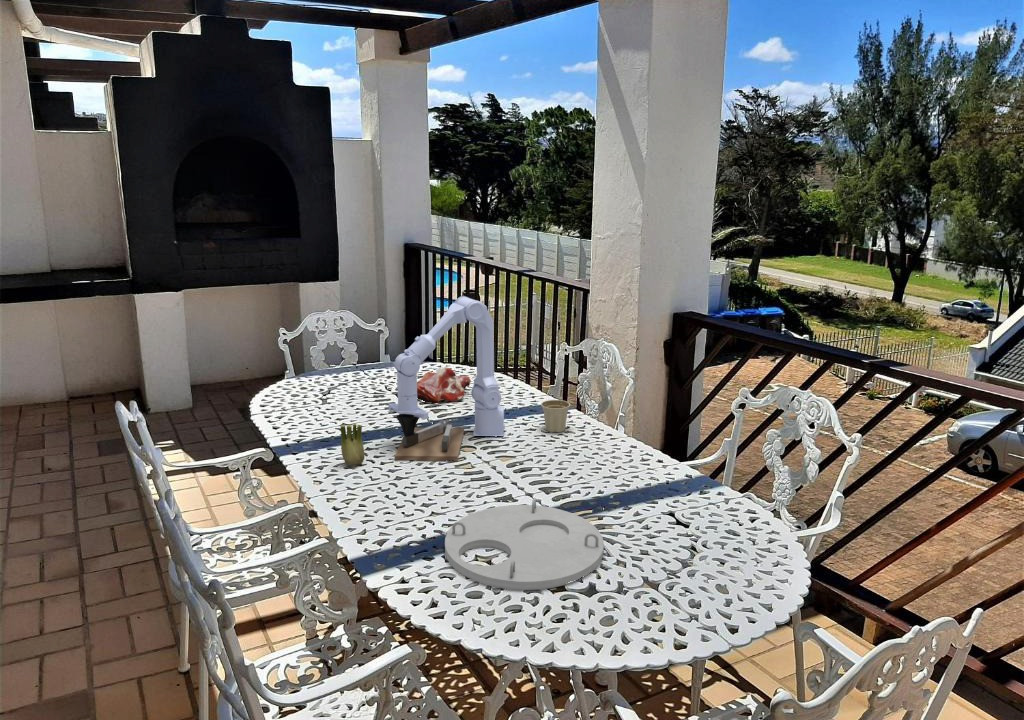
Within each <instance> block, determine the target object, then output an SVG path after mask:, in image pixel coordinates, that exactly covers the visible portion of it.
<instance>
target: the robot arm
mask: <svg viewBox="0 0 1024 720" xmlns="http://www.w3.org/2000/svg"><path fill="white" fill-rule="evenodd" d="M467 322H470V323H471V324H472V325H473V326H475V331H476V332H475V338H476V339H475V340H476V342H475V343H476V344H475V345H476V376H475V378H474V379H473V386H472V388H471V391H470V392H471V393H470V395H471V397H472V399H473V400H474V428H473V432H472V437H474V436H495V438H497V436H503V437H504V434H503V433H504V431H505V429H506V426H505V425H506V423H505V406H503V405H500V404H501V402H502V394H501V392H500V390H499V388H500V387H499V384H498V383H499V382H498V381H497V379H496V378H495V347H494V346H495V342H494V341H495V340H494V339H495V338H494V336H495V335H494V333H495V332H494V331H495V330H494V328H495V326H494V319H493V318H492V315H491V314H490V312H489V311H488V307H487V305H485V304H484V303H483V302H482V301H479V300H476V299H473V298H470V297H468V296H464V295H463V296H459V297H458V298H456V299H455V301H454V302H453V303H452V304H450V306H449V307H448V309H447V311H446V312H445V313H444V314H443V316H441V318H440V319H439V320H438V321H437V323H436V324H434V326H433V327H432V328H431V329H430V331H429V332H428V333H427V334H420V336H418V335H417V336H416V337H415V338H414V342H413V343H412V344H411V345H410V346H409V347H408V348H407V349H404V350H403V352H404V353H400V354H398V355H397V356H396V358H395V359H394V362H393V366H394V367H393V368H394V369H395V370H396V371H397V372H396V374H397V375H396V377H397V383H396V384H397V385H396V386H397V403H394V402H391V403H390V404H387V406H388V407H387V408H388V412H396V414H398V415H396V420H397V421H398V422H399V425H400V426H401V430H402V432H403V436H406V435H408V434H411V433H413V432H414V429H415V428H416V426H417V423H418V421H419V420H420V419H421V420H422V421H423V420H424V421H425V420H427V419H429V411H426V410H424V409H422V408H421V407H419V406H418V400H417V382H418V379H417V377H418V376H417V373H419V370H420V368H421V364H422V363H423V362H424V361H425V360H426V359H427V358H428V356H430V355H431V354H432V352H433V351H434V350H435V349H436V345H437V341H438V340H440V338H442V337H443V336H444V335H445V334H446V333H447V332H448V331H449V330H450V329H451V328H453V326H455V325H458V324H465V323H467Z"/></svg>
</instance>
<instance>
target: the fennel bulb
mask: <svg viewBox="0 0 1024 720" xmlns="http://www.w3.org/2000/svg"><path fill="white" fill-rule="evenodd" d="M339 427H340V434H341V435H340V436H341V440H340V441H341V442H340V444H341V447H340V448H341V456H342V459H343V461H344V463H345V464H346V465H347V466H350V467H358V466H360V465H361V464H362V463H364V462H365V461H364V460H365V447H364V443H363V439H362V438H363V436H362V435H363V434H362V429H363V425H362V424H356V423H352V424H348V425H345V424H342V425H339Z"/></svg>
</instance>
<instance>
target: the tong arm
mask: <svg viewBox="0 0 1024 720" xmlns="http://www.w3.org/2000/svg"><path fill="white" fill-rule="evenodd" d="M449 423H450V422H449V420H448V419H441V420H439V422H437V423H434V424H432V425H430V426H427V427H423V428H424V429H422V430H419V431H417V432H413V433H411V434H408V435H406V436H404V435H403V436H402V439H403V447H406V448H407V447H410V446H412V445H415V444H417V443H419V442H421V441H424V440H426V439H429V438H431V437H433V436H436V435H438V434H441V433H443V432H445V430H446V427H447V425H450V424H449Z"/></svg>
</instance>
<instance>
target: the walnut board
mask: <svg viewBox="0 0 1024 720" xmlns="http://www.w3.org/2000/svg"><path fill="white" fill-rule="evenodd" d="M424 428H425V427H415V429H414V432H417V431H419V430H422V429H424ZM444 434H445V432H443V433H441V434H438V435H436V436H433V437H431V438H429V439H426V440H424V441H421V442H419V443H417V444H415V445H412V446H410V447H407V448H406V447H403V438H402V439H401V441H400V443H399V445H398V447H397V450H396V451H395V454H394V461H395V460H418V461H417V462H459V457H460V453H461V449H462V445H461V443H462V444H463V440H462V439H464V436H463V435H465V428H464V427H463V428H462V427H455V428H454V427H452V436H451V439H450V443H449V447H448V451H447V452H442V439H443V436H444ZM460 448H461V449H460ZM446 460H447V461H446ZM449 460H450V461H449ZM452 460H454V461H452Z"/></svg>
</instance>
